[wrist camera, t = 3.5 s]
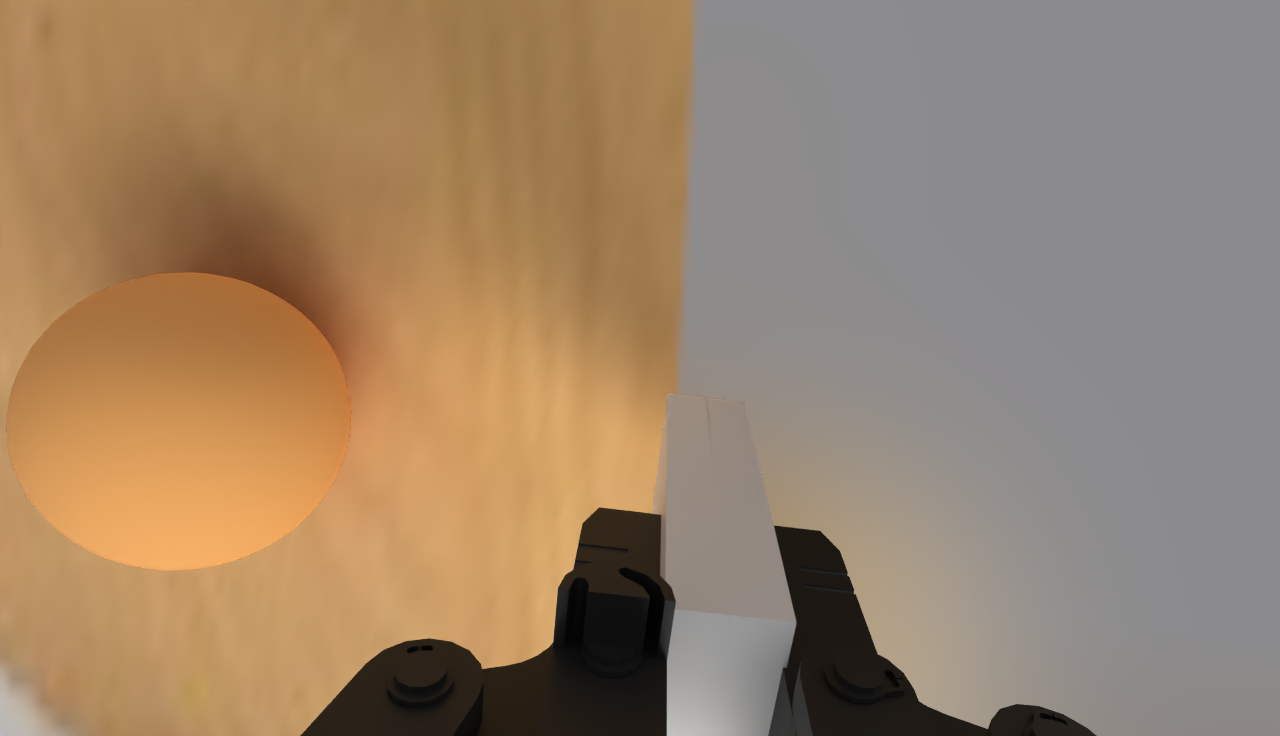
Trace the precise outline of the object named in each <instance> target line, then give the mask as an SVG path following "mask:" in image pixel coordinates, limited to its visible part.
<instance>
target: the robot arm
mask: <svg viewBox="0 0 1280 736" xmlns="http://www.w3.org/2000/svg"><path fill="white" fill-rule="evenodd" d="M847 573H848V572H847V569H846V567H845V564H844V561H843V558H842V556H841V553H840V551H839V550H838V549H837V548H836V547H835V546H834V545H833V544H832V543H831V542H830V541H829V539H828V538H826V536H824V534H822V532H821V531H815V530H807V529H798V528H789V527H782V526H774V525H773V521H772V516H771V512H770V508H769V503H768V499H767V495H766V491H765V486H764V483H763V478H762V474H761V470H760V465H759V461H758V457H757V453H756V448H755V444H754V440H753V436H752V431H751V427H750V423H749V418H748V414H747V410H746V406H745V402H742V401H733V400H724V399H716V398H707V397H699V396H689V395H682V394H673V393H668V394H667V401H666V409H665V416H664V424H663V431H662V439H661V447H660V454H659V462H658V469H657V477H656V484H655V492H654V500H653V507H652V514H650V513H641V512H633V511H624V510H616V509H607V508H598V509H597V510H596V511H595V512H594V513H593V514H592V515H591V516H590V517H589V518H588V519H587V520H586V521H585V522H584V523H583V525H582V529H581V534H580V539H579V545H578V549H577V554H576V559H575V564H574V569H573V570H572V571H571V572H569V573H568V574H566V575H565V577H564V579H563V580H562V582H561V584H560V586H559V587H558V596H557V607H556V619H555V630H554V641H553V643H552V645H551V646H550V647H549V648H548V649H546V650H545V651H543V652H542V653H541V654H539V655H538V656H536V657H533V658H531V659H529V660H526V661H524V662H521V663H517V664H512V665H508V666H502V667H494V668H487V669H482V668H481V664H480V663H479V661H478V660H477V659H476V658H475V657H474V655H473V654H472V653H471V652H470V651H469V650H467V649H465V648H463V647H461V646H459V645H457V644H455V643H453V642H449V641H442V640H436V639H421V640H413V641H405V642H403V643H400V644H398V645H395V646H393V647H390V648H387V649H385V650H383V651H382V652H380V653H379V654H378V655H377V656H375V657H374V658H373V659H371V660H370V661H369V662H368V663H366V664H365V665H364V666H363V668H362V669H361V670H360V671H359V672H358V673H357V674H356V675H355V676H354V677H353V679H352V680H351V681H350V682H349V683H348V684H347V685H346V686H345V687H344V688H343V690H342V691H341V692H340V693H339V694H338V695H337V696H336V697H335V698H334V699H333V701H332V702H331V703H330V704H329V705H328V706H327V707H326V708H325V709H324V710H323V712H322V713H321V714H320V715H319V716H318V717H317V718H316V719H315V720H314V721H313V723H312V724H311V725H310V726H309V727H308V728H307V729H306V730H305V731H304V732H303V733H302V735H301V736H1096V735H1095V734H1094V733H1092V732H1091V731H1090V730H1089V729H1088V728H1086V727H1084V726H1083V725H1081V724H1079V723H1077V722H1076V721H1074V720H1072V719H1070V718H1069V717H1067V716H1065V715H1063V714H1060V713H1057V712H1054V711H1052V710H1048V709H1045V708H1043V707H1040V706H1031V705H1020V704H1016V705H1012V706H1009V707H1005V708H1002V709H1000V710H999V711H998V712H997V713H996V715H995V716H994V717H993V718H992V720H991V722H990V725H989V728H988V729H986V728H983V727H980V726H977V725H974V724H971V723H969V722H966V721H963V720H960V719H957V718H954V717H951V716H949V715H946V714H943V713H941V712H939V711H937V710H934V709H932V708H929V707H927V706H926V705H924V704H922V703H921V702H919V701H918V698H917V696H916V693H915V691H914V689H913V687H912V685H911V684H910V682H909V681H908V680H907V678H906V676H905V675H904V673H903V672H902V671H901V670H899V669H898V668H897V667H896V666H895V665H893V664H892V663H891V662H890V661H889V660H887V659H886V658H884V657H882V656H880V655H878V654H877V651H876V649H875V646H874V643H873V641H872V638H871V635H870V632H869V630H868V627H867V624H866V621H865V619H864V616H863V613H862V611H861V608H860V605H859V602H858V600H857V597H856V595H855V594H854V588H853V586H852V583H851V580H850V578H849V576H847Z"/></svg>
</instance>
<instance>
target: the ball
mask: <svg viewBox="0 0 1280 736" xmlns="http://www.w3.org/2000/svg"><path fill="white" fill-rule="evenodd" d="M350 428H351V403H350V395H349V391H348V387H347V382H346V379H345V376H344V373H343V370H342V367H341V365H340V362H339V360H338V358H337V357H336V355H335V353H334V351H333V349H332V347H331V346H330V344H329V343H328V342H327V340H326V339H325V337H324V336H323V335H322V333H321V332H320V331H319V330H318V329H317V328H316V326H315V325H314V324H313V323H312V322H311V321H310V320H309V319H308V318H307V317H305V316H304V315H303V314H302V313H301V312H300V311H299V310H297V309H296V308H295V307H293V306H292V305H290V304H289V303H288V302H286V301H284V300H283V299H281V298H279V297H278V296H276V295H274V294H272V293H270V292H269V291H267V290H264V289H262V288H260V287H257V286H255V285H253V284H251V283H247V282H244V281H241V280H238V279H234V278H230V277H224V276H218V275H213V274H207V273H194V272H178V273H164V274H154V275H149V276H145V277H140V278H136V279H132V280H128V281H124V282H121V283H119V284H116V285H113V286H111V287H108V288H106V289H104V290H102V291H99V292H97V293H95V294H93V295H91V296H90V297H88V298H86V299H84V300H83V301H81V302H79V303H78V304H76V305H75V306H74V307H72V308H71V309H69V310H68V311H67V312H65V313H64V314H63V315H62V316H61V317H59V318H58V319H57V320H56V321H55V322H53V323H52V324H51V326H50V327H49V328H48V329H47V330H46V331H45V332H44V333H43V335H42V336H41V337H40V338H39V339H38V341H37V342H36V343H35V344H34V345H33V346H32V348H31V350H30V351H29V353H28V355H27V356H26V358H25V360H24V362H23V363H22V365H21V367H20V369H19V371H18V373H17V376H16V378H15V381H14V384H13V386H12V390H11V395H10V400H9V405H8V410H7V421H6V432H7V440H8V448H9V455H10V458H11V462H12V466H13V469H14V472H15V474H16V476H17V479H18V481H19V483H20V485H21V487H22V489H23V490H24V492H25V494H26V496H27V497H28V498H29V500H30V501H31V503H32V504H33V506H34V507H35V508H36V509H37V510H38V512H39V513H40V514H41V515H42V516H43V517H44V518H45V519H46V520H47V521H48V522H49V523H50V524H51V525H52V526H53V527H54V528H55V529H56V530H58V531H59V532H60V533H61V534H63V535H64V536H65V537H67V538H68V539H69V540H71V541H72V542H74V543H76V544H77V545H79V546H80V547H82V548H84V549H86V550H88V551H90V552H92V553H94V554H96V555H98V556H101V557H103V558H106V559H109V560H111V561H115V562H119V563H122V564H126V565H130V566H135V567H141V568H147V569H154V570H189V569H200V568H205V567H211V566H216V565H220V564H225V563H228V562H231V561H234V560H238V559H241V558H243V557H246V556H248V555H250V554H253V553H255V552H257V551H259V550H261V549H263V548H265V547H267V546H269V545H271V544H272V543H274V542H275V541H277V540H278V539H280V538H281V537H283V536H284V535H286V534H287V533H289V532H290V531H292V530H293V529H294V528H295V527H297V526H298V525H299V524H300V523H301V522H302V521H303V520H304V519H305V518H306V517H307V516H308V515H309V514H310V513H311V512H312V511H313V510H314V509H315V508H316V507H317V505H318V504H319V503H320V502H321V500H322V499H323V498H324V496H325V495H326V494H327V492H328V491H329V489H330V488H331V486H332V484H333V482H334V480H335V479H336V477H337V475H338V473H339V470H340V467H341V465H342V462H343V460H344V457H345V454H346V451H347V447H348V442H349V437H350Z"/></svg>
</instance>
